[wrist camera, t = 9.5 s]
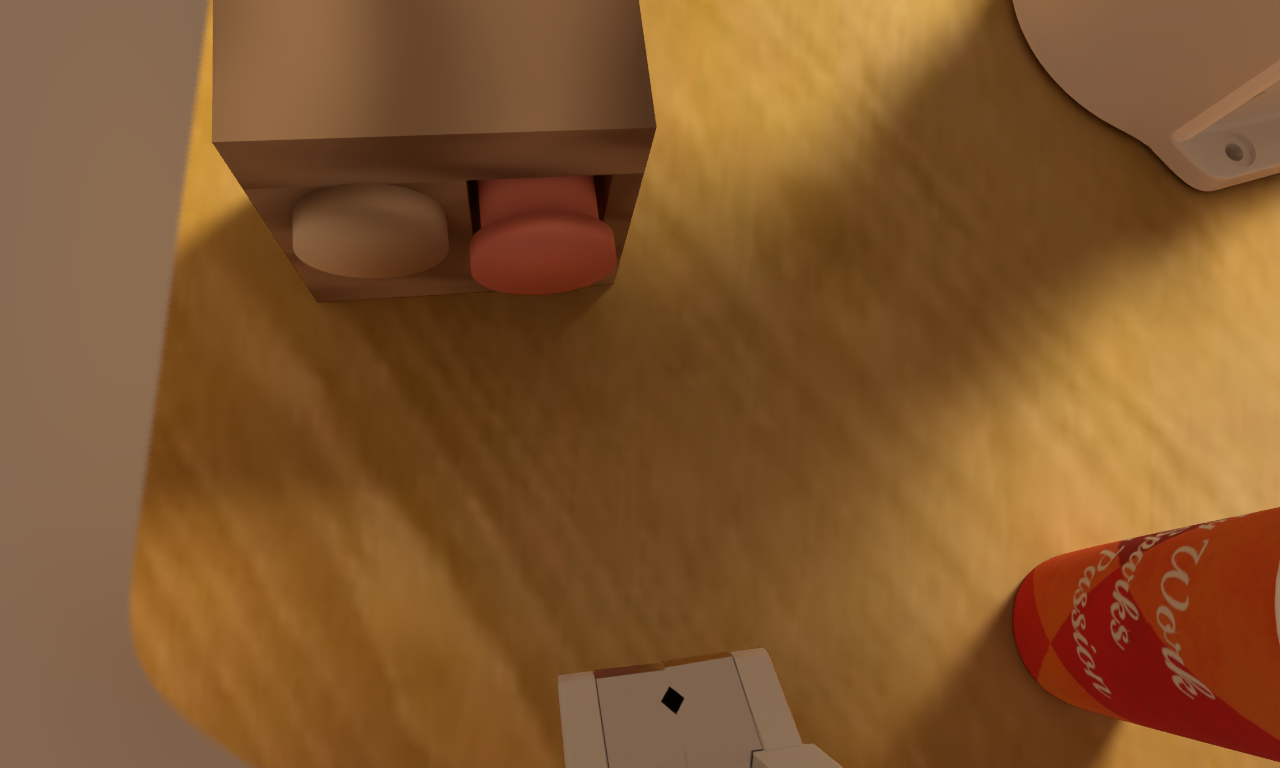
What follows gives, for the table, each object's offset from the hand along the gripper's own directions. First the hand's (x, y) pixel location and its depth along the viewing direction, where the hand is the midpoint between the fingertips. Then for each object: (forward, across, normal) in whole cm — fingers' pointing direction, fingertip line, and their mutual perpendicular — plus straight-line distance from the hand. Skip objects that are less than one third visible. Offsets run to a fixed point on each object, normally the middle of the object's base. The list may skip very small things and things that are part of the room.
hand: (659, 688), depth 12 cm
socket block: (+24, +3, +1) cm, 24 cm away
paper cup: (+12, -18, +15) cm, 26 cm away
